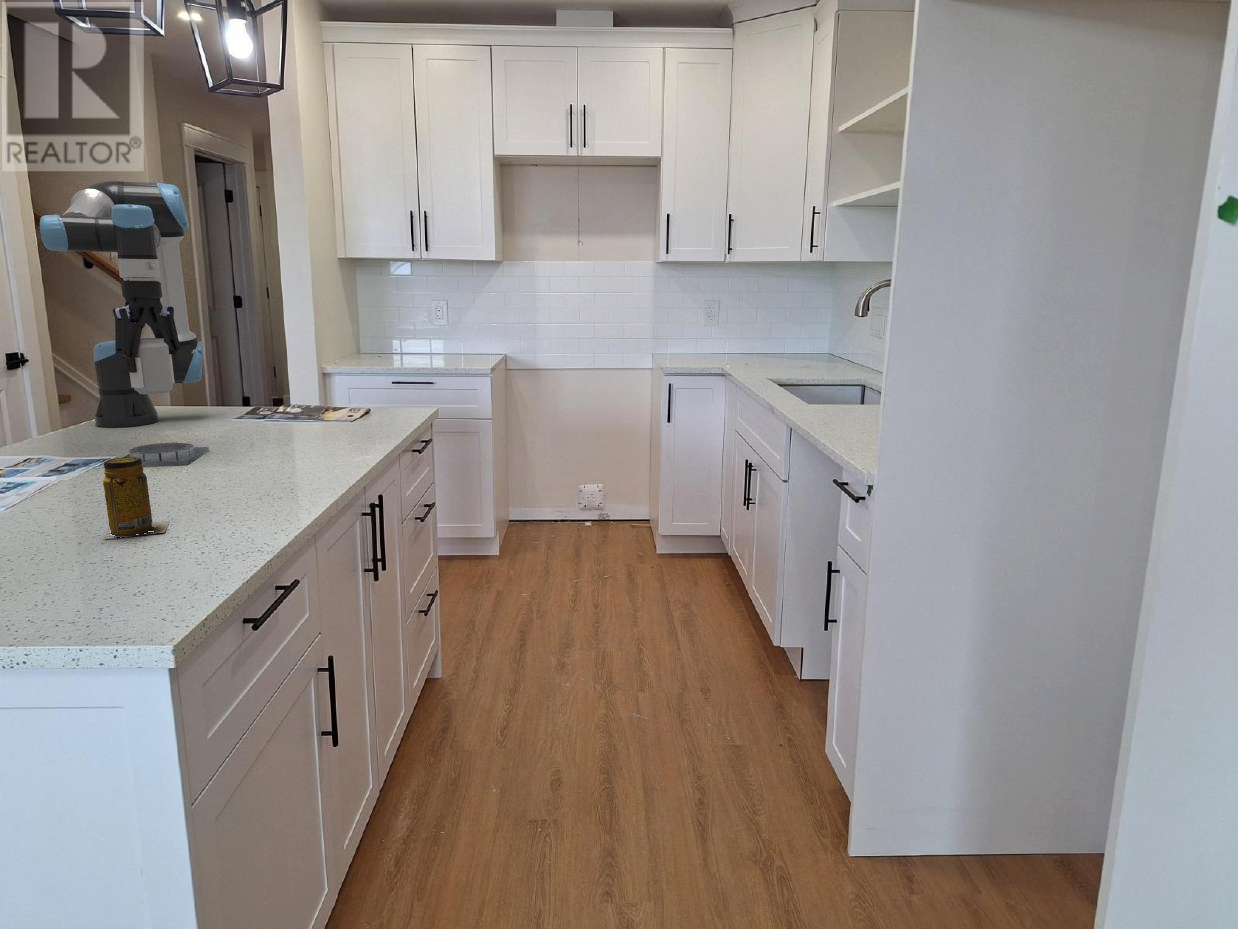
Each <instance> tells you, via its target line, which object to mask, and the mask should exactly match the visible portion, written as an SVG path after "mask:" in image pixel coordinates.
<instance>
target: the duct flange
mask: <svg viewBox="0 0 1238 929" xmlns="http://www.w3.org/2000/svg"><path fill="white" fill-rule="evenodd" d="M209 449H210V448H209V446H195V445H194V444H192V443H188V442H179V441H178V442H160V443H159V442H158V443H150V444H144V445H139V446H135V447H132V448H130V449H129V450H128V453H129V454H127V455H125V456H124V457H137V458H140V459H141V461H142V467H165V466H166V467H168V466H169V467H171V466H174V467H175V465H176V466H188V465H190V464H192V463H193V462H195V461H196V460H198V459H199V458H201V457H202V456H203V454H204V453H205V454H206V452H207V453H208V452H210V450H209ZM205 454H204V455H205ZM201 455H202V456H201ZM200 456H201V457H200ZM197 458H198V459H197ZM195 459H196V460H195ZM194 460H195V461H194ZM191 462H192V463H191Z"/></svg>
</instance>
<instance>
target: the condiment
mask: <svg viewBox="0 0 1238 929" xmlns="http://www.w3.org/2000/svg"><path fill="white" fill-rule="evenodd" d="M103 469H104V471H103V472H104V475H105V476H104V478H103V480H102V485H103V489H104V497H105V503H106V512H107V518H108V519H107V520H108V527H109V531H111V533H107V534H112V535H115V536H110V535H109V536H106V535H105V537H104V538H103V540H109V539H113V538H110V537H115V538H114V539H117V538H116V537H120V538H119V539H121V538H122V537H124V538H132V537H137V536H141V535H142V536H143V535H144V536H146V535H154V534H163V533H166V532H167V530H168V528H169V524H170V520H166V521H165V520H164V521H154V522H153V515H152V509H151V508H152V507H151V500H150V494H149V484H148V478H147V475H146V474H145V473H144V466H142V461H141V459H140V458H137V457H125V456H123V457H114V458H109V459H107V460H105V461H104V463H103ZM109 531H108V532H109ZM148 531H154V532H148ZM144 533H147V534H144ZM136 534H140V535H136ZM108 537H109V538H108ZM122 539H123V538H122Z"/></svg>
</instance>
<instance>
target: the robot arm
mask: <svg viewBox="0 0 1238 929" xmlns="http://www.w3.org/2000/svg"><path fill="white" fill-rule="evenodd" d="M183 198H184V197H183V196H182V193H181V190H180V189H179V188H178V186H177V185H174V184H169V183H161V182H149V181H148V182H145V181H144V182H141V181H119V180H109V181H103V182H102V181H101V182H97V183H94V184H91V185H87V186H85V187H83V188H81V189H80V190H78V191H77V192H75V193H74V195H73V196H72V198H71V200H70V205H69V208H67V210H66V211H65V212H64V213H63V214H62V215H61V214H55V213H54V214H47V215H46V214H45V215H42V216H41V217H40V218H39V219H40V220H39V232H40V236H41V237H40V238H41V241H42V244H43V245H44V247H45V248H46V249H47V250H49V251H52V252H53V251H54V252H55V251H57V252H63V253H67V252H83V253H84V252H94V253H96V252H98V253H99V252H100V253H101V252H102V253H116V254H117V264H118V271H119V278H121V279H122V280H121V282H120V288H121V296H122V297H123V299H124V300H125V303H124V306H122V307H114V308H112V313H113V317H114V320H115V322H114V325H115V326H114V328H115V330H114V331H115V332H114V333H115V334H114V335H115V336H114V338H115V339H114V340H109V341H104V342H103V341H102V342H99V343H97V344H95V345H94V346H93V363H94V369H95V372H96V374H95V375H96V380H97V389H98V396H99V397H98V398H99V399H98V402H97V407H96V410H95V413H94V414H95V416H94V421H95V423H94V424H95V426H97V427H100V428H102V427H103V428H125V427H127V428H128V427H137V426H145V425H150V424H153V423H157V422H159V416H158V411H157V409H156V407H155V404H154V403H153V401H152V399H151V397H150V396H149V395H150V394H139V392H137V391H136V390H134V388H144V382H143V374H142V366H141V358H138V357H136V356H137V352H138V347H139V342H140V338H141V336H142V332H143V328H145V326H146V324H147V326H148V327H150V329H151V331H152V333H150V335H149V337H148V338H163V339H164V342H165V343H166V344H167V345H168V348H169V357H170V365H171V374H172V382H173V385H174V384H175V385H177V384H182V385H184V384H190V383H191V384H193V383H198V382H199V381H200V380H202V376H203V360H204V356H203V355H204V343H203V342H202V341H200V340H197V335H196V333H195V332H193V331H191V330H190V323H189V317H188V306H187V299H186V291H185V283H184V275H183V267H182V258H181V251H180V242H181V240H182V239H184V237H185V231H188V230H190V223H189V218H188V214H187V208H186V206H185V203H184V202H185V201H184V199H183Z"/></svg>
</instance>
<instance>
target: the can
mask: <svg viewBox="0 0 1238 929" xmlns="http://www.w3.org/2000/svg"><path fill="white" fill-rule="evenodd" d="M136 357H138V358H141V366H142V374H143V382H144V388H134V390H136V391H137V392H139V394H148V395H160V394H167V393H170V392H171V391H172V389H174V384H173V382H172V374H171V365H170V357H169V348H168V345H167V344H166V343H165V342H164V339H163V338H149V337H145V338H144V337H143V338H140V342H139V347H138V352H137V356H136Z"/></svg>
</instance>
